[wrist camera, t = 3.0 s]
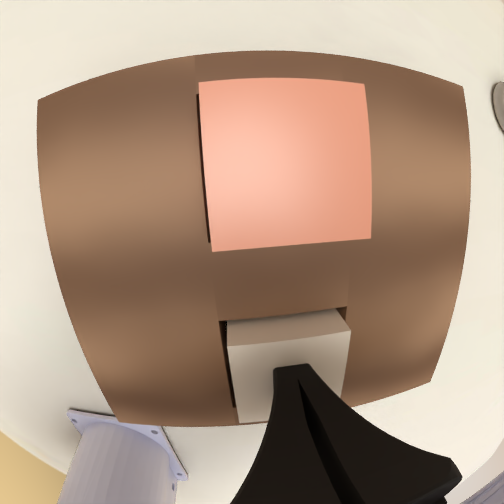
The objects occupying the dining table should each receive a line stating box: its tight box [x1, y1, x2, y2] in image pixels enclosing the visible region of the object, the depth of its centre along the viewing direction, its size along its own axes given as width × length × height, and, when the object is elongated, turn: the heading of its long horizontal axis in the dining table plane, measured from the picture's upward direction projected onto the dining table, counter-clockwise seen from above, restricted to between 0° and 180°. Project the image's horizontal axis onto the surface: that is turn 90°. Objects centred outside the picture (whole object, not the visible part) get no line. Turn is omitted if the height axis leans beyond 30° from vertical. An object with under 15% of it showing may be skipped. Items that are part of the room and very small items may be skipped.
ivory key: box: [227, 308, 351, 423], centre depth 11 cm, size 4×4×4 cm
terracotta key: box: [199, 78, 372, 252], centre depth 8 cm, size 4×4×4 cm
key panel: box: [37, 51, 471, 427], centre depth 11 cm, size 16×18×3 cm
